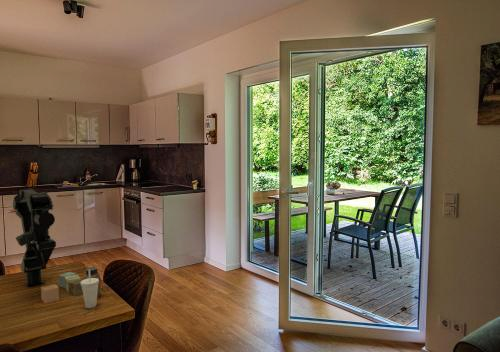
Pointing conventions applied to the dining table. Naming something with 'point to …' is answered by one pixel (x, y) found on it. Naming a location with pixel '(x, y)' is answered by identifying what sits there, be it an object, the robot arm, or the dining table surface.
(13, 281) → the dining table surface
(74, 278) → the maple block
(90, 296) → the smoothie
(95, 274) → the supplement bottle
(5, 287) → the dining table surface
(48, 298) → the terracotta block
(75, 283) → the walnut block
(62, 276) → the slate block
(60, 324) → the dining table surface
